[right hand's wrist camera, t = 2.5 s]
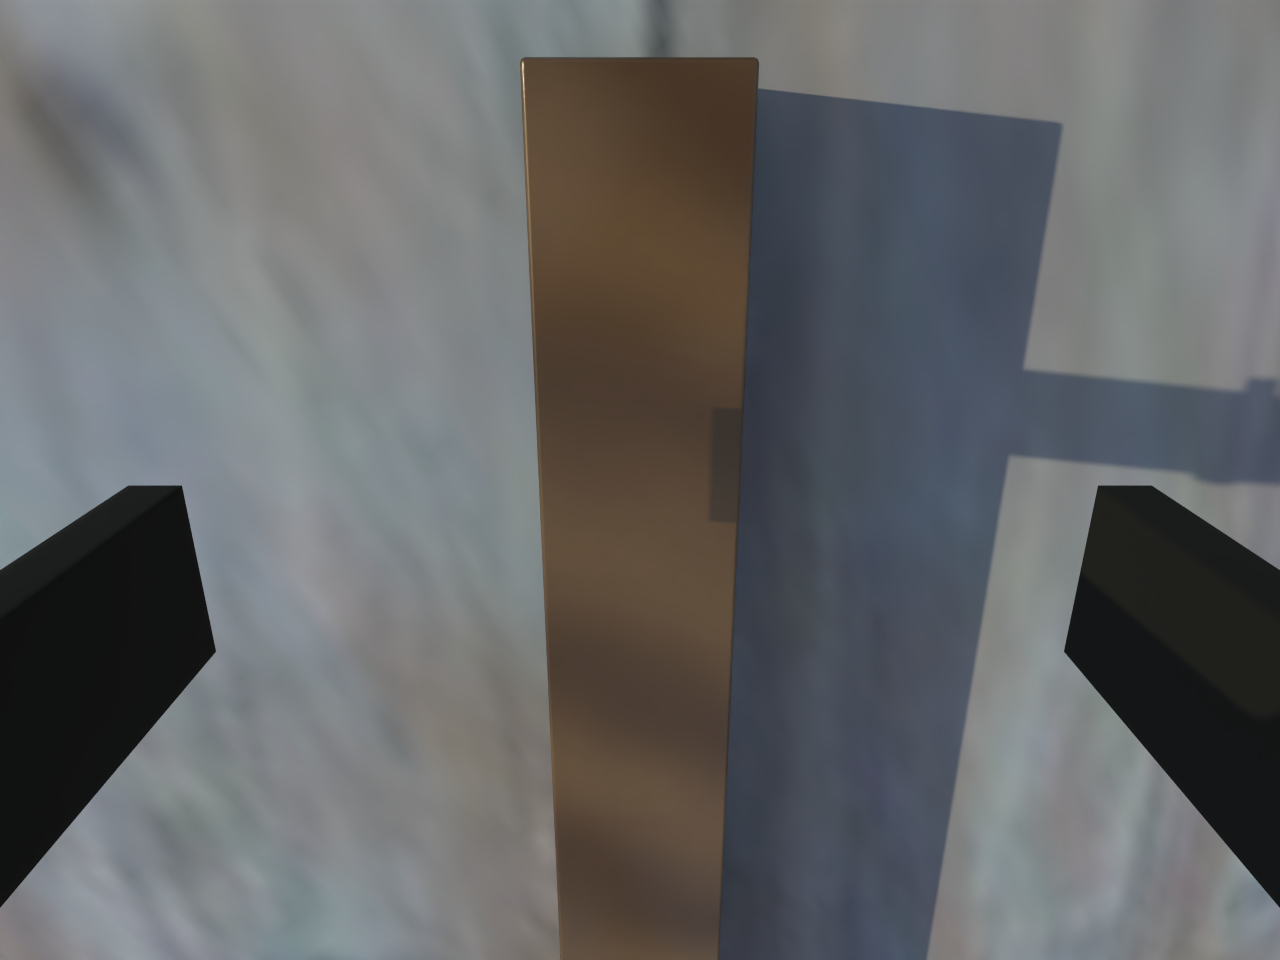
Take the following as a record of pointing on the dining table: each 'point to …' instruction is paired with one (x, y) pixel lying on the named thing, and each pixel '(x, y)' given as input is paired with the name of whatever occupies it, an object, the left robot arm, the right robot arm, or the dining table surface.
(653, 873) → the beam
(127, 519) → the right robot arm
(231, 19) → the dining table surface
